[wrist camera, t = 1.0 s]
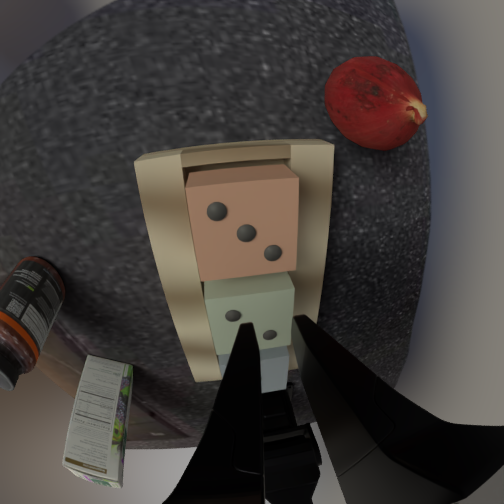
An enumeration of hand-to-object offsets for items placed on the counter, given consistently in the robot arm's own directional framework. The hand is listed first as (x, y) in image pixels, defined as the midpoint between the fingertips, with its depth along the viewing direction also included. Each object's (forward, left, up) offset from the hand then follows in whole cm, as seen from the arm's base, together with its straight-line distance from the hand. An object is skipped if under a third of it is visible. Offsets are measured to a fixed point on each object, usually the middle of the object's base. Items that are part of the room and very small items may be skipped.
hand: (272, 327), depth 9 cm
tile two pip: (-7, 0, -10) cm, 12 cm away
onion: (+7, -8, -12) cm, 16 cm away
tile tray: (-7, 0, -12) cm, 14 cm away
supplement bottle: (-5, +19, -12) cm, 23 cm away
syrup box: (-19, +17, -12) cm, 28 cm away
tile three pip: (0, 0, -10) cm, 10 cm away
